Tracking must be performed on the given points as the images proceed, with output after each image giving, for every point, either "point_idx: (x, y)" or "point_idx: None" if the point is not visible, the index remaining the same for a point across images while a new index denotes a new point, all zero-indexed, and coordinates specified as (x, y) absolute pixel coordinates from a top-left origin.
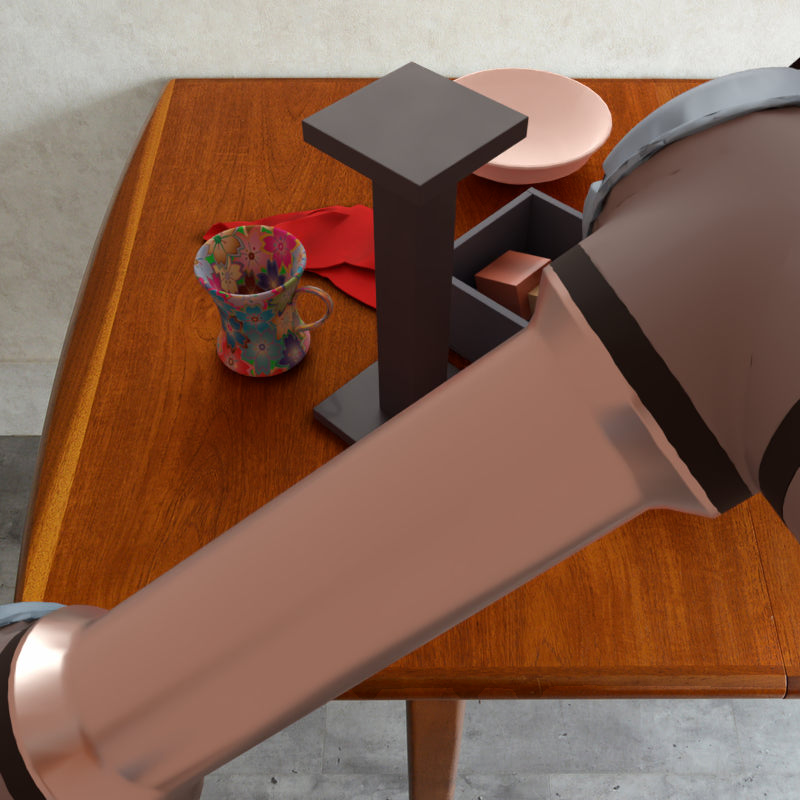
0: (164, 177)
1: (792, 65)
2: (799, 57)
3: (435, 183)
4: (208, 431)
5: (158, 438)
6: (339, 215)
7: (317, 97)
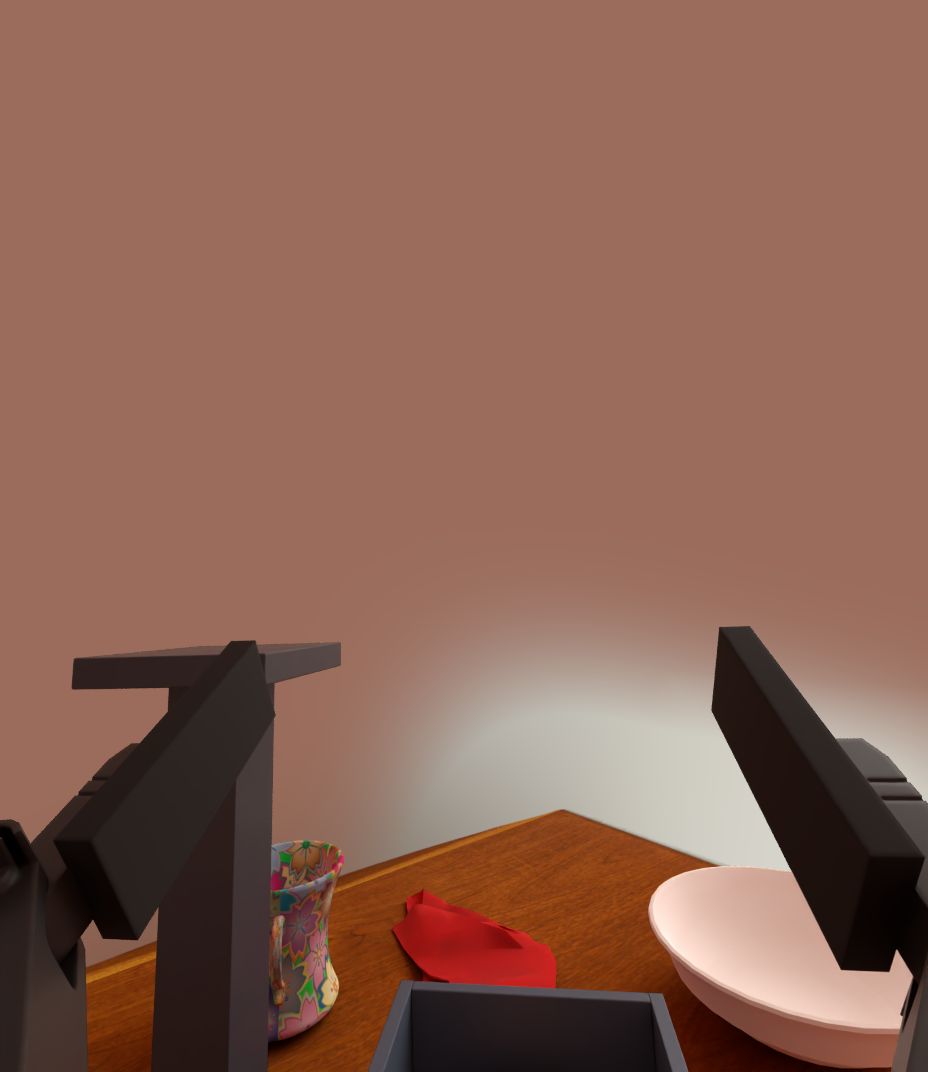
0: (459, 853)
1: (717, 670)
2: (718, 646)
3: (97, 668)
4: (132, 1042)
5: (116, 1015)
6: (509, 939)
7: (646, 857)
